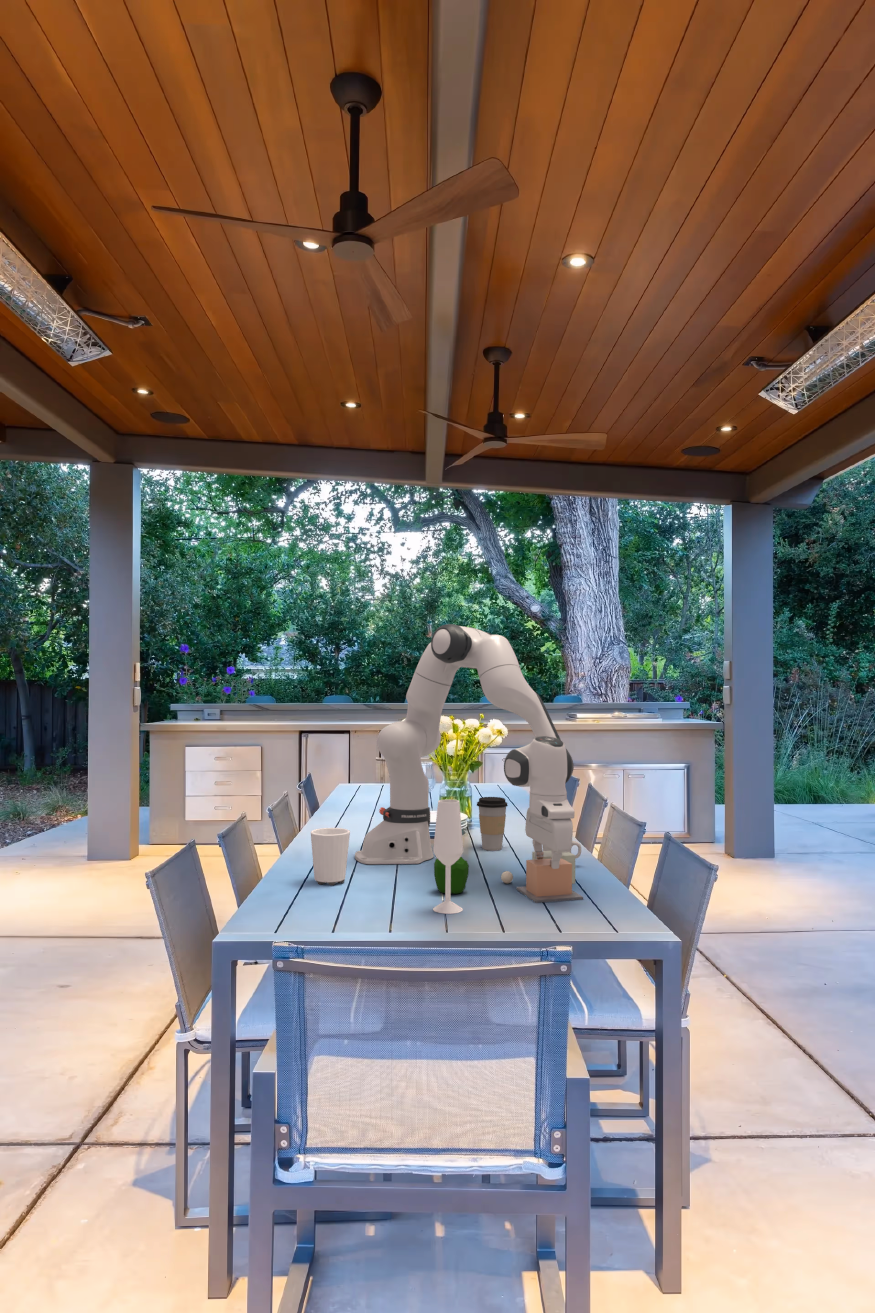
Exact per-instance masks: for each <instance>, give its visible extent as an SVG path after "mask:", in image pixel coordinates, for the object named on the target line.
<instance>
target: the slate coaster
mask: <svg viewBox="0 0 875 1313" xmlns="http://www.w3.org/2000/svg"><path fill="white" fill-rule="evenodd" d="M516 891H518V892H519V893H520V894H522V895H524V896H525V895H526V896H527V897H526V896H525V897H526V898H528V899H529V900H531V901H532V900H533V903H535V904H539V903H549V902H550V903H553V902H566V901H578V900H581V901H582V900H584V896H583V895H581V894H579V893H578V892H576V891H575V890H573V889H572V894H565V895H551V896H537V897H536V896H535V895H534V894H532V893H531V892H529V891H528V890H526V885H525V886H516Z"/></svg>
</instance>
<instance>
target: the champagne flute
mask: <svg viewBox="0 0 875 1313" xmlns="http://www.w3.org/2000/svg"><path fill="white" fill-rule="evenodd" d="M436 808H437V811H436V819H435V829H434V840H433V848H432V851H433V855H434V856H435V857H436V859H437V858H438V859H439V861H440V862H441V863H442V864H444V865H445V866H446V877H445V893H444V894H445V897H444V898H445V899H444V901H443V902H440V903H439V904H438V905H435V906H434V907H433V908H432V910H433V911H434V912H436V913H439V914H446V915H448V914H449V915H450V914H451V915H452V914H458V913H461V912H463V910H464V909H463V908H462V907H461V906H460V905H458V904H457V903H454V902H453V901H452V900H451V894H452V893H451V865H453V864H454V863H455V862H456V861H457V860H458V859H459V858H460V857H462V855H463V853H464V842H463V831H462V830H463V829H462V817H461V805H460V800H457V799H440V800H438V801H437V807H436Z"/></svg>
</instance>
